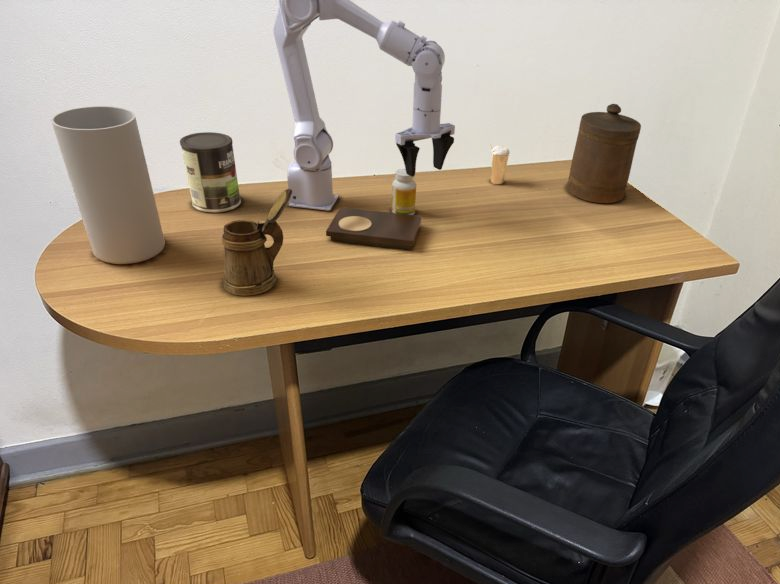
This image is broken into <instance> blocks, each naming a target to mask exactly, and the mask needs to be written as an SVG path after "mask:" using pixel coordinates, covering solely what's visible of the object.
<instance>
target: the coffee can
mask: <svg viewBox="0 0 780 584" xmlns="http://www.w3.org/2000/svg"><path fill="white" fill-rule="evenodd" d="M233 144H234V143H233V138H232V137H231V136H230V135H227V134H224V133H220V132H214V131H213V132H211V131H207V132H205V131H204V132H195V133H190V134H187V135H185V136H182V137H180V139H179V145H180V147H181V151H182V157H183V163H184V168H185V172H186V178H187V183H188V188H189V192H190V198H191V205H192V207H193V208H194V209H195V210H197V211H200V212H204V213H224V212H229V211H232V210H234V209H236V208H238V207H239V206H240V205H241V203H242V200H241V194H240V187H239V181H238V175H237V168H236V160H235V153H234V146H233Z"/></svg>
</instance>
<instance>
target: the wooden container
mask: <svg viewBox="0 0 780 584" xmlns="http://www.w3.org/2000/svg"><path fill="white" fill-rule="evenodd" d="M621 112H622V108H621V106H620V105H619V104H618V103H610V104H609V105H607V106H606V111H593V112H592V111H591V112H585V113H583V114H582V115H581V119H580V123H579V127H578V133H577V137H576V142H575V146H574V150H573V153H572V159H571V163H570V167H569V175H568V180H567V185H566V188H567V192H569V193H570V194H571V195H573V196H574V197H576V198H578V199H581V200H583V201H586V202H591V203H594V204H595V203H596V204H597V203H598V204H613V203H618V202H620V201H622V200H623V199H624V197H625V194H626V189H627V186H628V182H629V178H630V175H631V170H632V165H633V161H634V156H635V151H636V147H637V143H638V140H639V137H640V134H641V129H642V125H641V123H640V122H639V121H638V120H637V119H635V118H632V117H630V116H627V115H623V114H620V113H621Z"/></svg>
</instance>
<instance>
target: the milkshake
mask: <svg viewBox="0 0 780 584" xmlns="http://www.w3.org/2000/svg"><path fill="white" fill-rule="evenodd" d="M489 145H490V146H489V147H490V149H491V157H490V159H491V164H490V182H491V183H492V184H493V185H502V184H504V181H505V177H506V171H507V166H508V161H509V157H510V150H509V149H508V147H506V146H503V145H495V146H494V147H492V144H489Z"/></svg>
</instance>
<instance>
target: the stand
mask: <svg viewBox="0 0 780 584" xmlns="http://www.w3.org/2000/svg"><path fill="white" fill-rule="evenodd" d="M422 220H423V217H422V215H417V214H416V215H415V214H413V215H408V214H399V213H393V212H389V211H380V210H371V209H365V208H364V209H362V208H356V207H355V208H353V207H347V206H346V207H345V206H340V207H339V209H338V211H337V212H336V214H335V216H334V217H333V218H332V220H331V221H330V224H329V225H328V227H327V228H326V231H325V235H326V237H330V242H331V241H332V242H338V243H347V244H357V245H364V246H365V245H366V246H373V247H374V246H375V247H382V248H389V249H399V250H407V251H410V250H411V248H412V247H414V244H415V241H416V238H417V235H418V233H419V230H420V227H421V224H422V222H423V221H422Z"/></svg>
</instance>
